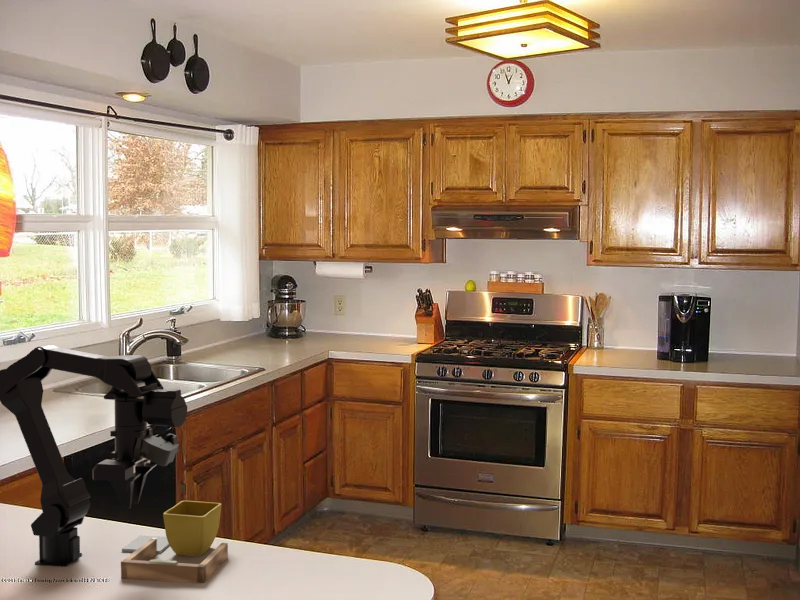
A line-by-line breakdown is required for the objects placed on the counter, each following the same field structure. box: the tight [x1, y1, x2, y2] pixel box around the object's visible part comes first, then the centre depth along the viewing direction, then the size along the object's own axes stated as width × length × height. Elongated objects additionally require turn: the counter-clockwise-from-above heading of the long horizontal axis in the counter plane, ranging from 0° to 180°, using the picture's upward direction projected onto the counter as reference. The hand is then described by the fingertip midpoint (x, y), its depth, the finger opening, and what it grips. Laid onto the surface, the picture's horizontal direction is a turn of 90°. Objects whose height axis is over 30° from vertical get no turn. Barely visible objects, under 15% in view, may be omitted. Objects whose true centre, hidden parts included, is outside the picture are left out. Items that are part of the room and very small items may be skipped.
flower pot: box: [162, 500, 222, 557], centre depth 168 cm, size 9×9×9 cm
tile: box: [121, 535, 170, 555], centre depth 172 cm, size 8×8×1 cm
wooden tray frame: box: [120, 539, 229, 584], centre depth 160 cm, size 13×16×3 cm
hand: (131, 505), depth 159 cm, fingers open, 3 cm apart
